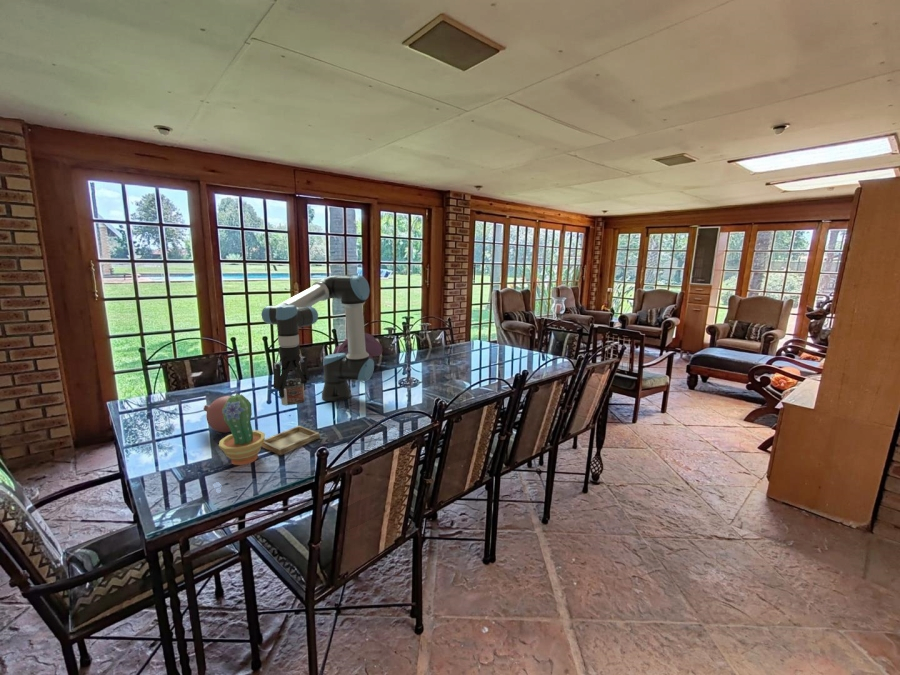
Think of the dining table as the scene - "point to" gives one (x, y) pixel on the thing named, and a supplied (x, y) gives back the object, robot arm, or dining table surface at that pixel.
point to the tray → (289, 440)
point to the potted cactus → (240, 432)
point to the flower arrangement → (370, 343)
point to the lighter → (294, 391)
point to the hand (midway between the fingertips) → (293, 401)
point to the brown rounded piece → (217, 415)
